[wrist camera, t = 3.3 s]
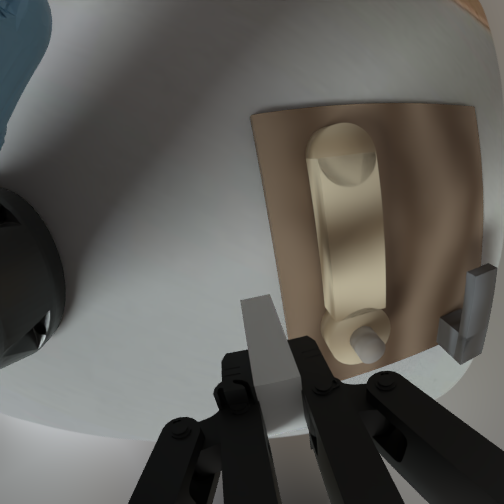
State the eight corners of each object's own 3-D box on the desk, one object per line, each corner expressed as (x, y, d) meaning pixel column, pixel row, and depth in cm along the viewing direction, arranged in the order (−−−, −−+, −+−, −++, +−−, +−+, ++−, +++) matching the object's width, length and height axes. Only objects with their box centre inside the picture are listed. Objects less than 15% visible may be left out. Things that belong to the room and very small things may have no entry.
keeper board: (295, 385, 27) (309, 426, 21) (249, 117, 20) (260, 102, 15) (466, 325, 28) (495, 348, 22) (467, 107, 21) (508, 103, 16)
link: (376, 338, 25) (400, 367, 20) (322, 354, 24) (340, 387, 20) (360, 123, 19) (393, 117, 15) (293, 130, 19) (313, 122, 15)
